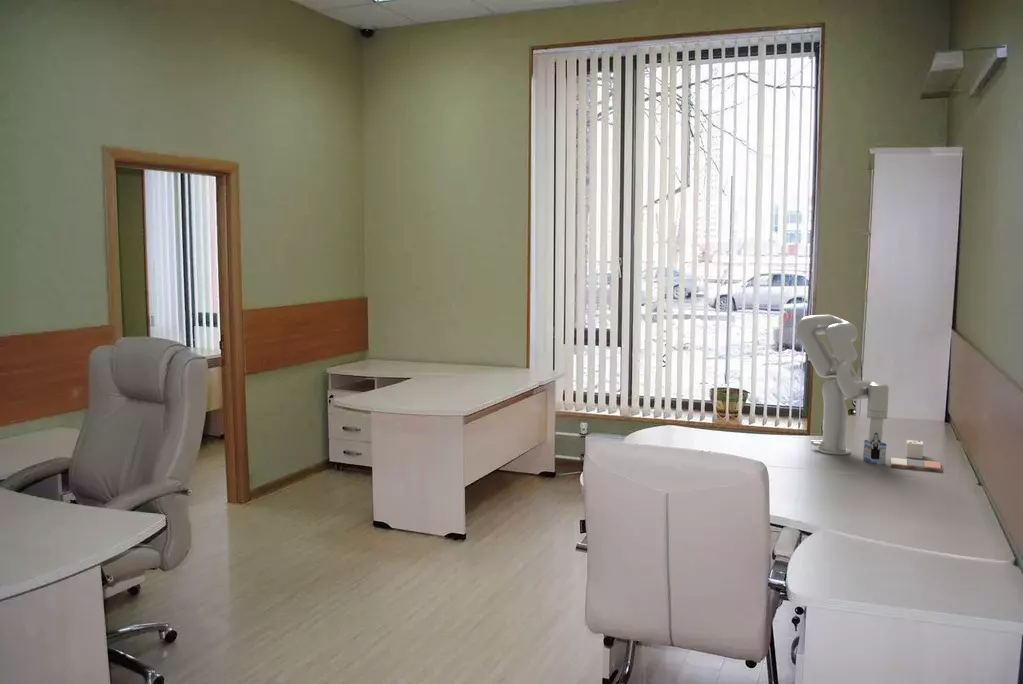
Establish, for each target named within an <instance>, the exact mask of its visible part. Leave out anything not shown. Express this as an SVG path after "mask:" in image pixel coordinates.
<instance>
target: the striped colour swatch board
mask: <svg viewBox="0 0 1023 684" xmlns="http://www.w3.org/2000/svg"><path fill="white" fill-rule="evenodd" d="M941 466H942V465H941V462H940V461H933V460H923V459H914V458H911V459H910V458H899V457H890V468H893V469H901V468H903V469H902V470H912V469H913V471H922V470H924V471H923V472H934V473H942V467H941Z"/></svg>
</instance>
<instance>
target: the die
mask: <svg viewBox="0 0 1023 684" xmlns="http://www.w3.org/2000/svg"><path fill="white" fill-rule="evenodd" d="M905 448H906V450H905V455H906V456H905V458H908V459H910V458H911V459H919V460H923V454H924V451H923V450H924V442H923V441H922V440H911V439H906V447H905Z"/></svg>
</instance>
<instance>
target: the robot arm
mask: <svg viewBox="0 0 1023 684" xmlns="http://www.w3.org/2000/svg"><path fill="white" fill-rule="evenodd" d="M796 335H797V339H798V342H799V343H800V345H801V346H802V348H803V349H804V350H805V353H806V354H807V357H808V359H809V362H810V363H811V365H812V367H813V369H814V371H815V373H816V374H817V375H818V377H821V378H825V379H826V380H825V382H824V383H823V384H822V388H821V393H822V398H823V418H822V419H823V420H822V421H823V422H822V423H823V424H822V438H821V439H820V440H815V439H811V440H810V441H811V442H810V444H811V445H813V446H814V447H815V446H818V448H817V449H818V452H820V453H823V454H826V455H836V456H843V455H848V454H850V452H851V449H850V448H847V437H848V436H847V435H848V415H849V414H848V413H849V411H848V407H847V404H846V400H850V401H857V400H867V407H866V409H867V410H866V418H868V419H869V421H868V439H867V440H868V442H869V443H870V442H872V449H871V459H880V449H879V444H880V443H881V442H882V440H883V435H884V425H885V423H884V422H885V420H886V419H888V410H889V409H888V406H889V388H890V387H889V386H888V384H886V383H883V382H882V383H881V382H875V381H872V380H869V379H868V380H867V379H863V380H860V379H859V376H858V374H857V373H856V370H855V369H854V367H853V364H852V363H853V362H854V361H855V360H857V358H858V357H859V356H858V352H857V350H856V348H855V346H854V344H853V342H855V341H856V340H857V338H858V335H859V331H858V329H857V327H856V326H855V325H854V324H853V323H851V321H847V320H844V319H843V318H840V317H837V316H835V315H832V314H814V315H807V316H804V317H803V318H801V319H800V320H799V322H798V324H797V326H796ZM818 335H824V336H825V338H826V341H827V343H828V346H829V347H830V350H831V351H832V353H831V352H830V350H829V349H828V347H827V345H826V343H825V342H824V341H823V340H822V339H821V338H819V337H818ZM827 378H828V379H827ZM882 443H883V442H882Z"/></svg>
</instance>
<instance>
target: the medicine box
mask: <svg viewBox="0 0 1023 684" xmlns="http://www.w3.org/2000/svg"><path fill="white" fill-rule="evenodd" d="M863 442H864V443H863V456H862V457H863V458H862V460H863V462H866V463H870V464H872V465H876V466H883V465H886V460H887V458H886V456H887V443H886V442H881V443H880V444H879V449H880V459H871V449H872V442H870V443H869V442H868V439H865V440H864V441H863Z"/></svg>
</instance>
